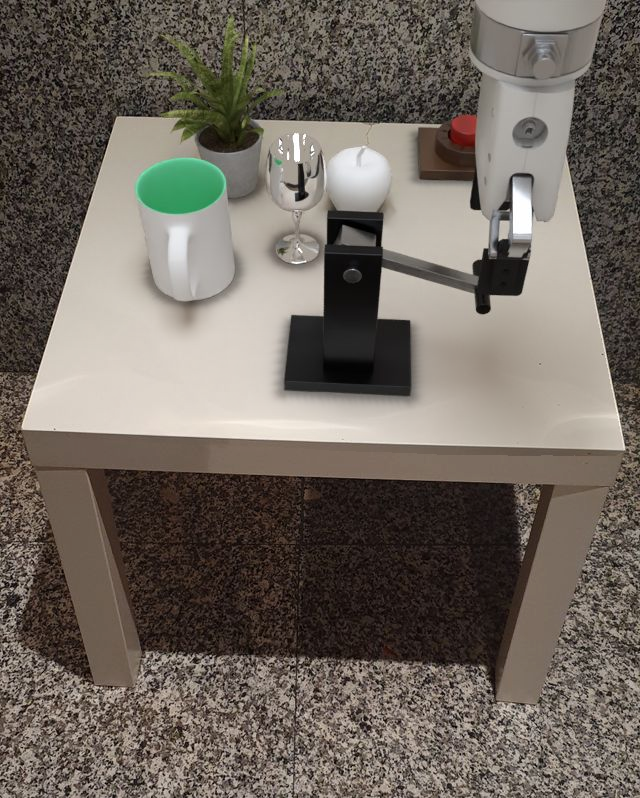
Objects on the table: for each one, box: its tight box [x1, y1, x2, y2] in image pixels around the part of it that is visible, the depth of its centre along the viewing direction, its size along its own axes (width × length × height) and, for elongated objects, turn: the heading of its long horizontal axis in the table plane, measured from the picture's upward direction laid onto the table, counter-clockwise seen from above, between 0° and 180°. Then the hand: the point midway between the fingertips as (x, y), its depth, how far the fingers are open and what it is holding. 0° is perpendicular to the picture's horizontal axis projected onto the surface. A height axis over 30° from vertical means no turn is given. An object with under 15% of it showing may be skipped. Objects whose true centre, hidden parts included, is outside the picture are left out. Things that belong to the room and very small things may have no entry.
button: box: [450, 114, 477, 147], centre depth 91 cm, size 4×4×2 cm
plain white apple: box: [325, 145, 393, 212], centre depth 86 cm, size 7×7×8 cm
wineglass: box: [264, 132, 327, 265], centre depth 80 cm, size 6×6×12 cm
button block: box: [417, 118, 476, 181], centre depth 93 cm, size 10×8×3 cm
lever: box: [334, 225, 492, 315], centre depth 67 cm, size 13×5×2 cm, turn 86°
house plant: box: [144, 13, 286, 199], centre depth 86 cm, size 14×14×16 cm
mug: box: [134, 157, 236, 302], centre depth 77 cm, size 12×8×10 cm, turn 4°
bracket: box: [283, 209, 412, 397], centre depth 70 cm, size 11×8×15 cm
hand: (493, 248), depth 64 cm, fingers open, 9 cm apart
